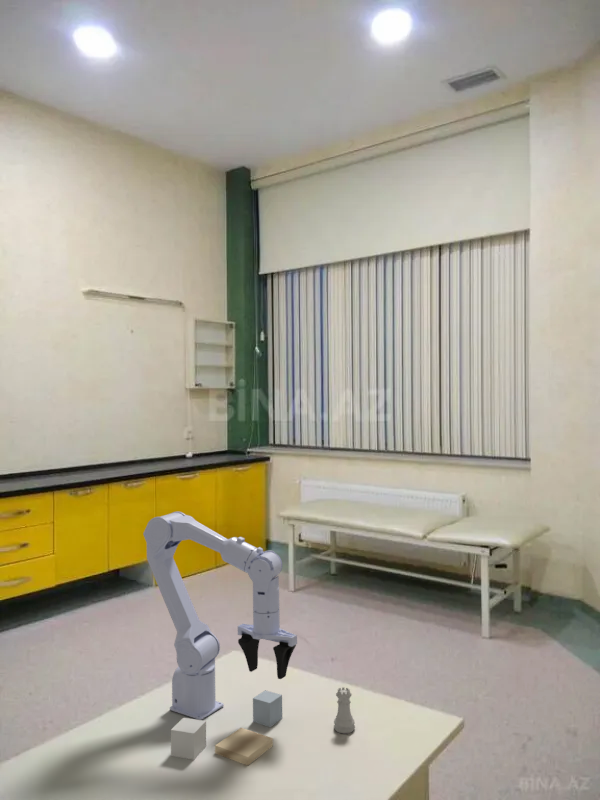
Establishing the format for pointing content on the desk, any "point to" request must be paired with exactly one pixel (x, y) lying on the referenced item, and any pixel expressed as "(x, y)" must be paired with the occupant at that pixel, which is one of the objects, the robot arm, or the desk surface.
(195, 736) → the grey cube
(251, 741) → the maple block
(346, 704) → the rook chess piece
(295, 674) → the desk surface
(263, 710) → the slate block
